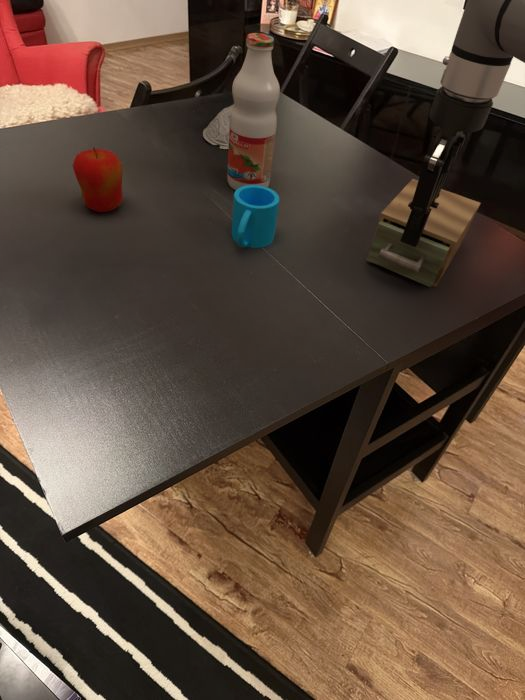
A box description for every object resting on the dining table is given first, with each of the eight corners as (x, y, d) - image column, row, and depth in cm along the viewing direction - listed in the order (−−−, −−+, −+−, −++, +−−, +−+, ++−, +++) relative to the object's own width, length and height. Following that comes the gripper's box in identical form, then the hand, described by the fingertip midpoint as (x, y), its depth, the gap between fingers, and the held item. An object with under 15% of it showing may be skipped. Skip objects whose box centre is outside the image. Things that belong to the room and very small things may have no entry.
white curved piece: (287, 120, 129) (287, 94, 124) (243, 159, 114) (242, 130, 109) (237, 111, 134) (235, 85, 129) (188, 147, 119) (185, 119, 114)
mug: (240, 219, 95) (243, 180, 89) (279, 230, 94) (285, 192, 88) (216, 251, 87) (218, 211, 81) (259, 263, 85) (263, 224, 80)
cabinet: (435, 287, 86) (456, 242, 79) (366, 258, 90) (381, 212, 83) (460, 245, 96) (480, 202, 89) (397, 221, 100) (412, 178, 93)
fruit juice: (277, 189, 104) (297, 42, 84) (241, 198, 100) (252, 46, 80) (254, 170, 109) (267, 27, 89) (218, 178, 105) (224, 30, 85)
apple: (97, 223, 89) (87, 162, 80) (71, 204, 92) (59, 144, 84) (135, 208, 94) (129, 149, 85) (109, 191, 97) (101, 132, 88)
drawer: (423, 300, 82) (439, 263, 76) (357, 271, 85) (368, 234, 80) (455, 248, 94) (471, 212, 88) (396, 225, 98) (408, 189, 92)
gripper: (452, 73, 69) (401, 218, 86) (424, 96, 61) (374, 251, 78) (504, 88, 66) (441, 233, 84) (482, 114, 58) (417, 269, 75)
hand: (409, 242), depth 81 cm, fingers closed
